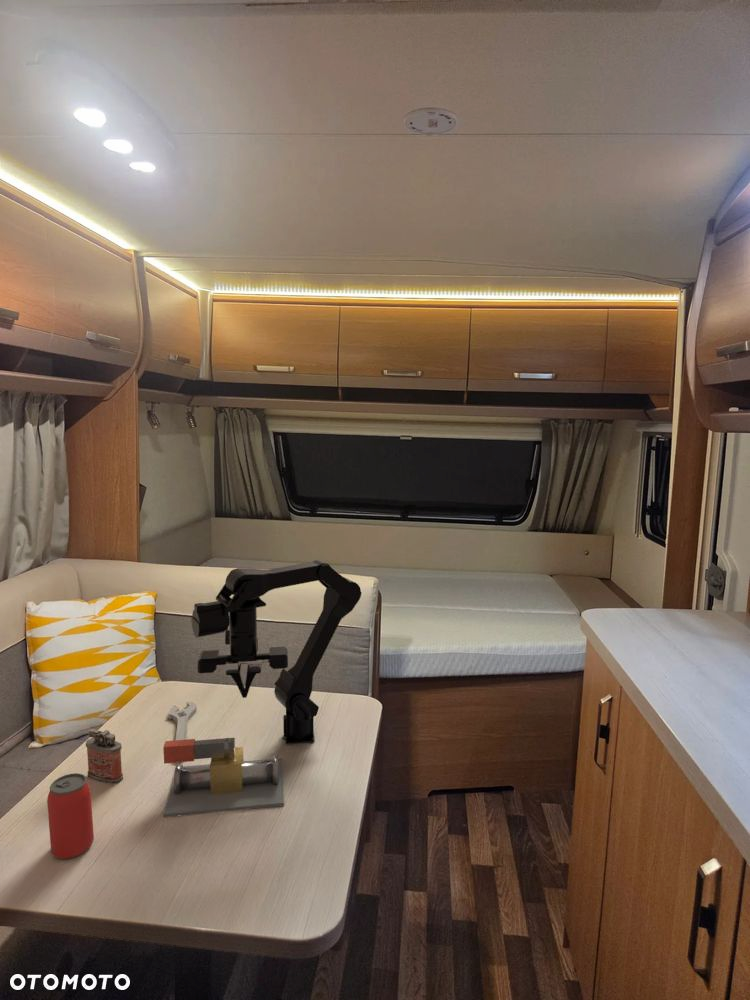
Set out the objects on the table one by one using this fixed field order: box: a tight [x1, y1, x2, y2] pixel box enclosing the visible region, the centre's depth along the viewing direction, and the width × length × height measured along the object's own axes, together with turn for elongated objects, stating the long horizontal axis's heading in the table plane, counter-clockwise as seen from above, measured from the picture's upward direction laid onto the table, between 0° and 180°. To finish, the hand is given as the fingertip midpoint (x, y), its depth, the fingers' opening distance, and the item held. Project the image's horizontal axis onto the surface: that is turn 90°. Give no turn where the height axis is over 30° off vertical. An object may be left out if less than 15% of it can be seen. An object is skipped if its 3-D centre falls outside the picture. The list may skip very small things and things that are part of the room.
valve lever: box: [163, 737, 236, 764], centre depth 116 cm, size 13×2×3 cm, turn 99°
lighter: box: [85, 728, 124, 785], centre depth 120 cm, size 8×3×10 cm, turn 71°
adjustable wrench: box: [167, 701, 198, 740], centre depth 138 cm, size 25×6×2 cm, turn 12°
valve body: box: [173, 746, 279, 795], centre depth 118 cm, size 20×6×7 cm, turn 100°
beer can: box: [46, 772, 95, 860], centre depth 101 cm, size 7×7×12 cm
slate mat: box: [163, 757, 285, 818], centre depth 118 cm, size 22×15×1 cm
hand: (244, 696), depth 129 cm, fingers closed
